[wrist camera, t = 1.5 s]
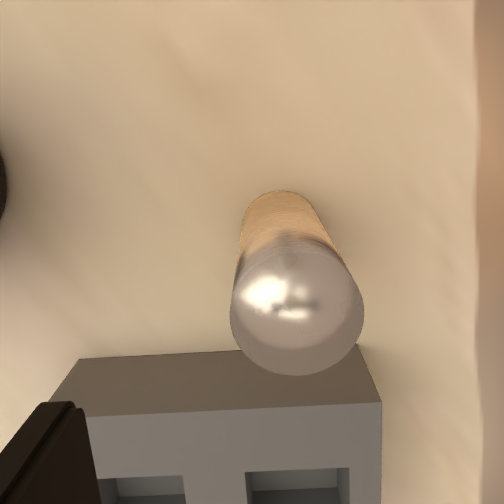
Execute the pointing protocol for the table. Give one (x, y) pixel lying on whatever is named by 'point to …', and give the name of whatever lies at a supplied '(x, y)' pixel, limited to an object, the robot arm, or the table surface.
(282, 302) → the steel pin
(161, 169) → the table surface
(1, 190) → the pen holder
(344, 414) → the hole block
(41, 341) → the table surface
